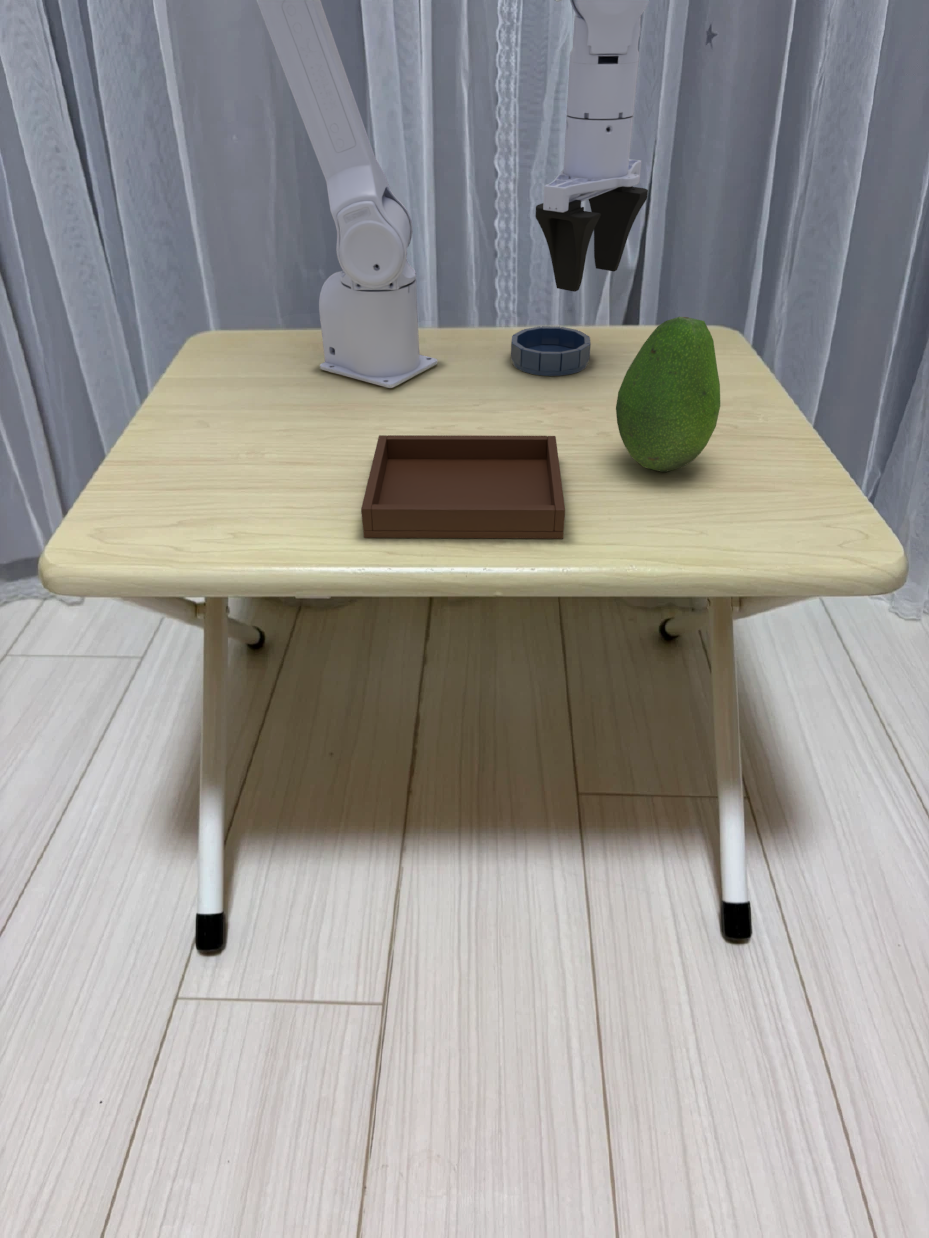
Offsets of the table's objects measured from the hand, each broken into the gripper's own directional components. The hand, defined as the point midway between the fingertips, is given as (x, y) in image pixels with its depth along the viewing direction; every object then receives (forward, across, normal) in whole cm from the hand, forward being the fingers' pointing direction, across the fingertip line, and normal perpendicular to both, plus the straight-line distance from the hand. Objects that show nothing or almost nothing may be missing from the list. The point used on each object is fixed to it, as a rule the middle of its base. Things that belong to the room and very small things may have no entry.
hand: (587, 279), depth 82 cm
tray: (+9, -28, -6) cm, 30 cm away
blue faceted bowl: (+9, 0, +4) cm, 10 cm away
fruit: (+9, -15, -16) cm, 23 cm away
